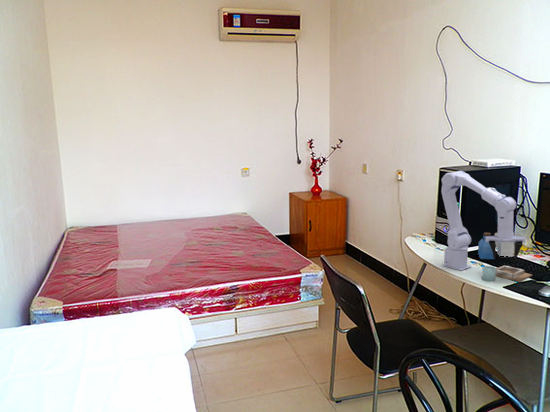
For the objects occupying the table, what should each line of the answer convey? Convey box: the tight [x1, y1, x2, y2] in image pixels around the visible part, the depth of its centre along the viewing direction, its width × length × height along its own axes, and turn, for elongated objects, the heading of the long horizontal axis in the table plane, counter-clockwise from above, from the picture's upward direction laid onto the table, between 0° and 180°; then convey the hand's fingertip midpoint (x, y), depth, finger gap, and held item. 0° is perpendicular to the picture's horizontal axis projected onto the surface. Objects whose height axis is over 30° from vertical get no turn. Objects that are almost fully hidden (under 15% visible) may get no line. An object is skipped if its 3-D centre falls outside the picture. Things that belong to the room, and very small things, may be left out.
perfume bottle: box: [477, 232, 495, 260], centre depth 212 cm, size 6×6×12 cm
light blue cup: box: [481, 265, 497, 282], centre depth 184 cm, size 5×5×5 cm
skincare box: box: [496, 232, 515, 258], centre depth 212 cm, size 6×4×12 cm
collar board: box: [495, 265, 533, 283], centre depth 188 cm, size 14×11×2 cm
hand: (504, 258), depth 182 cm, fingers open, 7 cm apart
